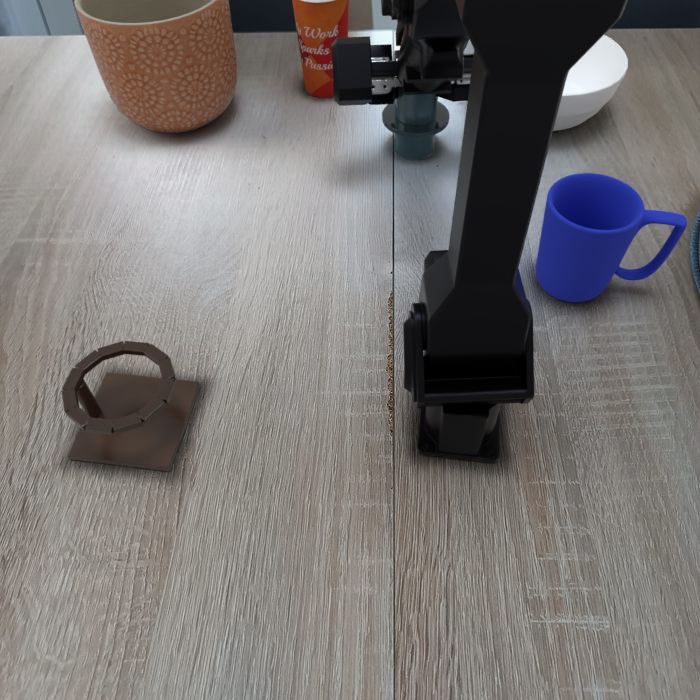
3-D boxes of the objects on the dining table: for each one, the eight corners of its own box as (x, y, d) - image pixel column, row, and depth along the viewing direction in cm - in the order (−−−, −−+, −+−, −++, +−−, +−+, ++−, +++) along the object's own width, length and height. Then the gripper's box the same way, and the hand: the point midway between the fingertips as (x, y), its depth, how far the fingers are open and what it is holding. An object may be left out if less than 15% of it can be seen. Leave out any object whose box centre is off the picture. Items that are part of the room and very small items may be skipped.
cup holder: (170, 471, 53) (152, 436, 48) (69, 459, 54) (43, 423, 49) (200, 385, 58) (187, 346, 54) (108, 375, 59) (88, 336, 55)
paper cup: (287, 94, 88) (275, -17, 77) (315, 67, 92) (307, -41, 81) (338, 107, 86) (333, -5, 75) (364, 79, 90) (363, -31, 79)
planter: (224, 154, 80) (197, 28, 68) (93, 143, 82) (46, 20, 70) (260, 82, 90) (243, -38, 78) (144, 74, 92) (110, -44, 81)
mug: (656, 323, 61) (698, 242, 53) (525, 306, 63) (546, 226, 55) (649, 263, 66) (687, 181, 58) (527, 249, 68) (548, 167, 60)
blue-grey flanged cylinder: (444, 169, 77) (452, 85, 68) (378, 165, 78) (378, 81, 69) (447, 132, 81) (456, 49, 73) (385, 128, 82) (386, 46, 74)
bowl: (617, 157, 77) (637, 100, 72) (461, 146, 79) (468, 90, 74) (604, 77, 89) (620, 23, 83) (468, 70, 91) (475, 16, 85)
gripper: (534, -55, 59) (495, 15, 74) (327, -47, 59) (331, 22, 74) (535, 73, 60) (497, 116, 76) (332, 82, 60) (335, 122, 76)
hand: (415, 91), depth 75 cm, fingers closed on blue-grey flanged cylinder, 5 cm apart
